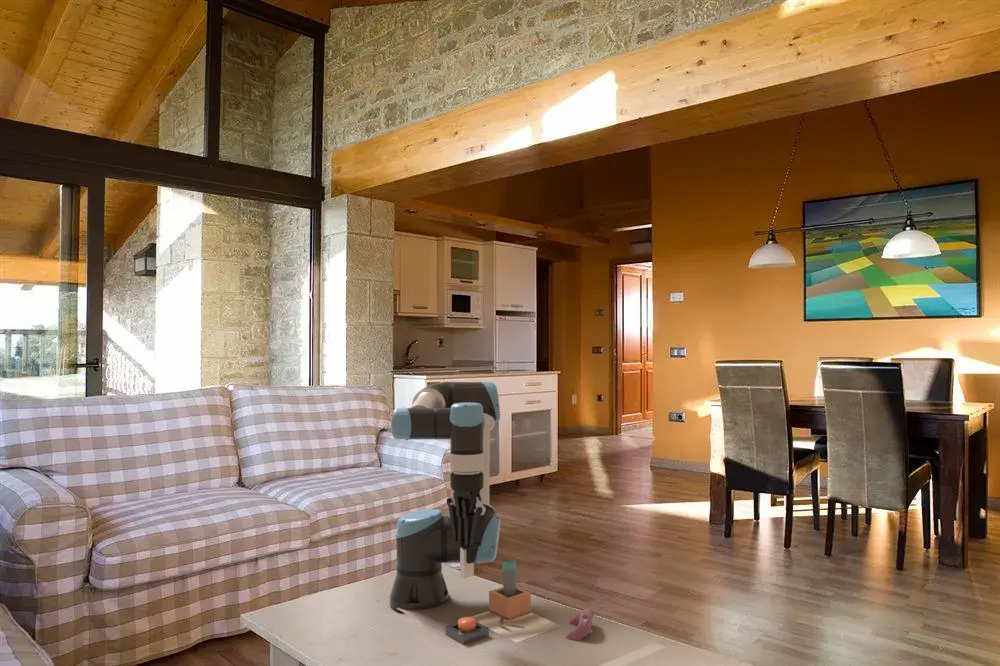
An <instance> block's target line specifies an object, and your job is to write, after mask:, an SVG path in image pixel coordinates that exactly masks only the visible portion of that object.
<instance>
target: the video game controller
mask: <svg viewBox="0 0 1000 666" xmlns="http://www.w3.org/2000/svg"><path fill="white" fill-rule="evenodd" d="M593 616H594V612H593V611H592V610H591V609H586V608H584V609H582V610H581V611H580V612H579V613H578V614H576V615H575V616H574V617H572V618H570V620H569V622H568V624H569V625H574V626H576V627H575V628H573V629H572V630H571V631H570V632H568V634H567V635H566V637H565V639H566V640H573V641H580V640H581V641H582V640H583V639H584V638H586V637H587V635H588V634H589V635H590V634H592V632H593V628H592V624H593V623H592V619H593Z"/></svg>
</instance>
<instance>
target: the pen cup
mask: <svg viewBox="0 0 1000 666" xmlns="http://www.w3.org/2000/svg"><path fill="white" fill-rule="evenodd" d="M531 596H532V594H531V592H530V591H528V590H525V589H523V588H522V587H518V586H516V595H515V596H511V597H506V596H504V595H503V586H502V587H499V588H496V589H492V590H489V591H488V604H489V605H488V611H489V612H491V613H493V614H495V615H497V616H499V617H501V618H504V619H506V620H508V621H509V620H512V619H515V618H518V617H521V616H524V615H527V614H530V613H532V612H531V607H532V605H531V604H532V603H531V601H532V600H531V599H532V598H531Z"/></svg>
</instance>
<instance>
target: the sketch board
mask: <svg viewBox="0 0 1000 666" xmlns="http://www.w3.org/2000/svg"><path fill="white" fill-rule="evenodd" d="M470 617H472V618H474V619H476V622H478V623H480V624H482V625H484V626H486V627H488V628H489V631H492V632H494V633H496V634H497V635H499V636H502V637H504V638H506V639H508V640H509V641H512V642H514V643H515V644H517V643H519V642H523V641H525V640H528V639H531V638H533V637H536V636H539V635H541V634H545V633H546V632H550V631H553V630H556V629H557V628H560V627H561V628H562V625H561V624H558V623H555V622H553V621H552V620H549V619H547V618H545V617H543V616H540V615H538V614H536V613H533V612H531V613H530V614H527V615H524V616H521V617H518V618H515V619H512V620H509V621H508V620H506V619H504V618H501V617H499V616H497V615H495V614H493V613H491V612H489V610H487V611H484V612H482V613H478V614H476V615H472V616H470Z"/></svg>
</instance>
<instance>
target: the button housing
mask: <svg viewBox="0 0 1000 666" xmlns="http://www.w3.org/2000/svg"><path fill="white" fill-rule="evenodd" d="M445 635H446V636H447V637H449V638H451V639H452V640H455V641H456V642H458V643H460V644H462V645H463V646H465V645H468V644H470V643H474V642H476V641H480V640H483V639H485V638H488V637H489V636H490V629H489V628H488V627H486V626H484V625H482V624H480V623H478V622H476V630H474V631H471V632H468V633H463V632H461V631H459V630H458V622H455V623H452V624H449V625H446V626H445Z"/></svg>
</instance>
